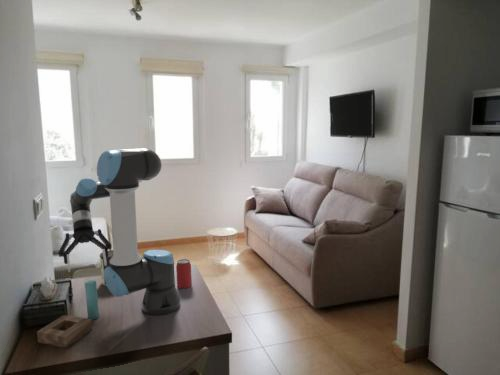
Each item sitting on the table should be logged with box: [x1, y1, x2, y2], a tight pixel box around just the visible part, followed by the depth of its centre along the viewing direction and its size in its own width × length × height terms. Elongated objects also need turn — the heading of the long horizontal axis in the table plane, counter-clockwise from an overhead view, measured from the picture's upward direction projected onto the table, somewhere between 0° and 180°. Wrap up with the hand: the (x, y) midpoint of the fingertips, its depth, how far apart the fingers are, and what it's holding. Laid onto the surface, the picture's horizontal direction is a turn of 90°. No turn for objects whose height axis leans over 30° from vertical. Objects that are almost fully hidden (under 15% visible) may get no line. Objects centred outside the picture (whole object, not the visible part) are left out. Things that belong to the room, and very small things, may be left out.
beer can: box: [175, 258, 193, 290], centre depth 170 cm, size 7×7×12 cm
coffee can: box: [99, 249, 113, 287], centre depth 175 cm, size 10×10×14 cm
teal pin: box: [84, 279, 100, 320], centre depth 143 cm, size 4×4×14 cm
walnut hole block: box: [36, 314, 92, 349], centre depth 131 cm, size 12×12×4 cm
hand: (87, 267), depth 151 cm, fingers open, 13 cm apart
